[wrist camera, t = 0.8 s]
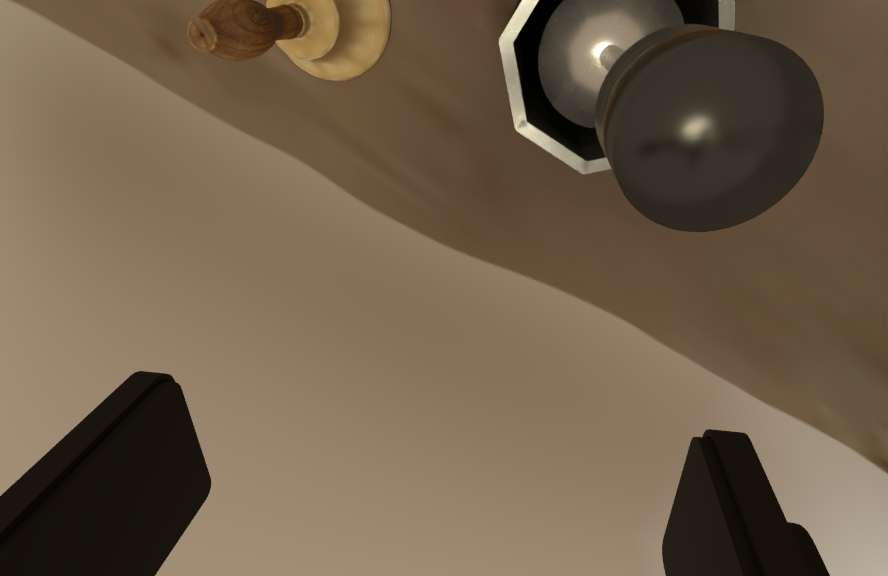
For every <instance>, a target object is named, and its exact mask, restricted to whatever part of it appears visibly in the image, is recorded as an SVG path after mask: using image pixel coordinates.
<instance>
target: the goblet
mask: <svg viewBox="0 0 888 576" xmlns="http://www.w3.org/2000/svg"><path fill="white" fill-rule="evenodd" d="M538 68H539V75H540V80H541V84H542V87H543V89H544V92H545V94H546V96H547V98H548V99H549V101H550V102H551V104H552V105H553V106H554V108H555V109H556V110H557V111H558V112H559V113H560V114H562V115H563V116H564V117H565V118H567V119H569V120H570V121H572V122H574V123H576V124H579V125H581V126H584V127H588V128H595V129H596V131H597V136H598V139H599V142H600V145H601V147H602V149H603V151H604V153H605V155H606V157H607V160H608V162H609V164H610V166H611V168H612V170H613V173H614V175H615V177H616V179H617V181H618V183H619V185H620V187H621V189H622V191H623V193H624V195H625V196H626V198H627V199H628V200H629V202H630V203H631V204H632V205H633V206H634V207H635V208H636V209H637V210H638V211H639V212H640V213H641V214H643V215H644V216H645V217H647V218H648V219H650V220H652V221H654V222H655V223H657V224H660V225H662V226H665V227H668V228H672V229H676V230H681V231H689V232H706V231H715V230H720V229H725V228H729V227H732V226H735V225H738V224H741V223H743V222H746V221H748V220H750V219H752V218H754V217H756V216H758V215H759V214H761V213H763V212H765V211H766V210H768V209H769V208H770V207H772V206H773V205H775V204H776V203H777V202H778V201H780V200H781V199H782V198H783V197H784V196H785V195H786V194H787V193H788V192H789V191H790V190H791V189H792V188H793V187H794V186H795V185H796V184H797V182H798V181H799V180H800V178H801V177H802V176H803V174H804V173H805V172H806V170H807V168H808V166H809V165H810V163H811V161H812V159H813V157H814V155H815V152H816V150H817V148H818V145H819V141H820V138H821V134H822V128H823V121H824V106H823V100H822V94H821V91H820V88H819V85H818V82H817V80H816V78H815V76H814V74H813V72H812V70H811V69H810V68H809V67H808V65H807V64H806V63H805V62H804V60H803V59H802V58H800V57H799V56H798V55H797V54H796V53H795V52H794V51H792V50H791V49H789V48H787V47H786V46H784V45H783V44H780V43H778V42H775V41H773V40H771V39H767V38H763V37H759V36H755V35H750V34H745V33H740V32H735V31H731V30H726V29H721V28H716V27H711V26H706V25H700V24H684V20H683V17H682V14H681V12H680V9H679V8H678V6H677V4H676V3H675V1H674V0H563V1H562V2H561V3H560V4H559V5H558V6H557V8H556V9H555V11H554V12H553V13H552V15H551V17H550V18H549V20H548V22H547V24H546V26H545V29H544V31H543V34H542V37H541V41H540V46H539V52H538Z"/></svg>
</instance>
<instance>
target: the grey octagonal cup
mask: <svg viewBox="0 0 888 576" xmlns="http://www.w3.org/2000/svg"><path fill="white" fill-rule="evenodd" d="M562 1H563V0H519V1H518V3H517V5H516V8H515V10H514V13H513V16H512V18H511V19H510V21H509V23H508V25H507V26H506V28H505V30H504V32H503V33H502V35H501V37H500V39H499V46H500V51H501V57H502V62H503V68H504V73H505V78H506V84H507V89H508V95H509V100H510V105H511V111H512V116H513V122H514V127H515V129H516V131H518V132H519V133H521V134H522V135H524V136H525V137H527V138H528V139H530V140H531V141H533V142H534V143H536V144H537V145H539V146H540V147H542V148H543V149H545V150H546V151H548V152H549V153H551V154H552V155H554V156H556V157H557V158H559V159H560V160H562V161H563V162H565V163H566V164H568V165H569V166H571V167H572V168H574V169H575V170H577V171H578V172H580V173H581V174H583V173H584V174H588V173H593V172H598V171H604V170H609V169H612V168H611V166H610V164H609V162H608V160H607V157H606V155H605V153H604V151H603V149H602V147H601V145H600V142H599V139H598V136H597V131H596V129H595V128H588V127H584V126H581V125H579V124H576V123H574V122H572V121H570V120H569V119H567V118H565V117H564V116H563V115H562V114H560V113H559V112H558V111H557V110H556V109H555V108H554V106H553V105H552V104H551V102H550V101H549V99H548V98H547V96H546V94H545V92H544V89H543V87H542V84H541V80H540V75H539V68H538V52H539V46H540V41H541V37H542V34H543V31H544V29H545V26H546V24H547V22H548V20H549V18H550V17H551V15H552V13H553V12H554V11H555V9H556V8H557V6H558V5H559V4H560V3H561V2H562ZM674 1H675V3H676V4H677V6H678V8H679V9H680V12H681V14H682V17H683V20H684V24H700V25H706V26H711V27H716V28H721V29H726V30H731V31H735V0H674Z"/></svg>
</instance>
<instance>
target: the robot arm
mask: <svg viewBox="0 0 888 576" xmlns="http://www.w3.org/2000/svg"><path fill="white" fill-rule="evenodd" d="M210 488H211V478H210V475H209V472H208V469H207V466H206V463H205V459H204V456H203V453H202V450H201V447H200V444H199V441H198V438H197V435H196V432H195V429H194V426H193V422H192V419H191V416H190V413H189V410H188V407H187V404H186V401H185V398H184V395H183V392H182V389H181V386H180V385H179V384H178V383H176V382H175V381H174V379H173V377H172V376H171V375H169V374H164V373H154V372H144V371H139V372H135V373H134V374H132V375H131V376H130V377H129V378H128V379H127V380H125V382H123V383H122V384H121V385H120V386H119V387H118V388H117V389H116V390H115V391H114V392H113V393H111V394H110V395H109V396H108V397H107V398H106V399H105V400H104V401H103V402H102V403H101V404H100V405H98V407H96V408H95V409H94V410H93V411H92V412H91V413H90V414H89V415H88V416H87V417H86V418H84V419H83V421H81V422H80V423H79V424H78V425H77V426H76V427H75V428H74V429H73V430H71V431H70V432H69V433H68V434H67V435H66V436H65V437H64V438H63V439H62V440H61V441H60V442H58V443H57V444H56V445H55V446H54V447H53V448H52V449H51V450H50V451H49V452H48V453H47V454H46V455H45V456H43V457H42V458H41V459H40V460H39V461H38V462H37V463H36V464H35V465H34V466H33V467H31V468H30V469H29V470H28V471H27V472H26V473H25V474H24V475H23V476H22V477H21V478H20V479H19V480H17V482H15V483H14V484H13V485H12V486H11V487H10V488H9V489H8V490H7V491H6V492H4V493H3V494H2V495H1V496H0V576H155V575H156V573H157V571H158V570H159V569H160V567H161V566H162V564H163V562H164V561H165V560H166V558H167V557H168V555H169V554H170V552H171V551H172V549H173V548H174V546H175V545H176V543H177V542H178V540H179V539H180V537H181V536H182V534H183V533H184V531H185V530H186V528H187V527H188V525H189V524H190V522H191V521H192V519H193V518H194V516H195V515H196V513H197V512H198V510H199V509H200V508H201V506H202V504H203V503H204V502H205V500H206V498H207V497H208V494H209V492H210ZM662 556H663V563H664V569H665V574H666V576H830V575H829V573H828V571H827V569H826V566H825V564H824V562H823V560H822V558H821V556H820V554H819V552H818V550H817V548H816V546H815V544H814V542H813V540H812V538H811V537H810V535H809V533H808V532H807V531H806V530H805V529H804V528H803V527H802V526H801V525H799V524H795V523H789V522H787V521H786V518H785V516H784V514H783V512H782V510H781V507H780V505H779V503H778V501H777V498H776V496H775V494H774V492H773V490H772V487H771V485H770V483H769V480H768V478H767V476H766V474H765V472H764V469H763V467H762V465H761V463H760V460H759V458H758V456H757V454H756V452H755V449H754V447H753V445H752V442H751V440H750V439H749V437H748V435H746V434H745V433H740V432H730V431H720V430H711V429H709V430H706V431H705V432H704V434H703V437H702V438H701V437H693V438H692V440H691V443H690V447H689V450H688V454H687V457H686V461H685V464H684V468H683V471H682V475H681V478H680V482H679V485H678V489H677V493H676V496H675V499H674V503H673V507H672V510H671V514H670V517H669V521H668V524H667V528H666V531H665V535H664V538H663V546H662Z"/></svg>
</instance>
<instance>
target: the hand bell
mask: <svg viewBox="0 0 888 576" xmlns="http://www.w3.org/2000/svg"><path fill="white" fill-rule="evenodd" d="M390 26H391V11H390V4H389V0H267V4H266V7H265V6H264V5H262V4H260V3H258V2H256V1H253V0H218V1H216V2H214V3H212V4H211V5H209V6H208V7H207V8H205V9H204V11H203V12H202V13H201V14H200V15H199V16H198V17H197V18H195V19H193V20H192V21H191V22H190V23H189V25H188V30H187V34H188V38H189V40H190V42H191V44H192V45H193V46H194V47H195V48H196V49H197V50H200V51H202V52H209V53H211V54H213V55H215V56H217V57H220V58H223V59H227V60H232V61H243V60H248V59H252V58H255V57H258V56H260V55H261V54H263V53H265V52H266V51H267V50H269V49H270V48H271V47H272V46H273V44H274V43H275V42H276V43H277V45H278V46H279V47H280V48H281V49H282V50H283V51H285V53H286V54H287V55H288V56H289V58H290V59H291V60H292V61H293V62H294V63H295V64H296V65H297V66H299V67H300V68H301V69H303V70H304V71H306V72H307V73H309V74H311V75H313V76H315V77H318V78H321V79H325V80H329V81H344V80H349V79H352V78H355V77H358V76H360V75H362V74H363V73H365V72H366V71H368V70H369V69H370V68H371V67H372V66H373V65H374V64H375V63H376V62H377V60H378V59H379V58H380V56H381V55H382V53H383V51H384V49H385V47H386V44H387V41H388V38H389V33H390Z"/></svg>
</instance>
